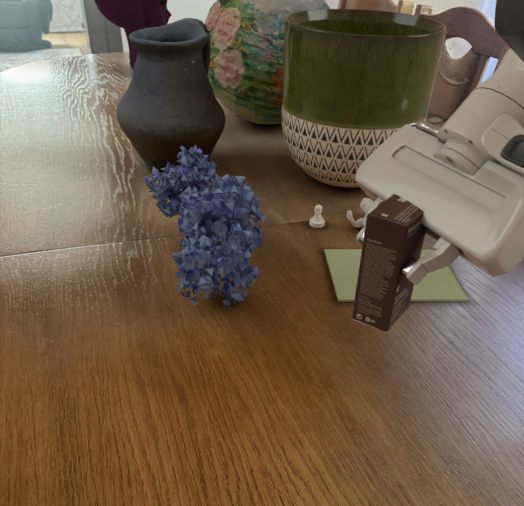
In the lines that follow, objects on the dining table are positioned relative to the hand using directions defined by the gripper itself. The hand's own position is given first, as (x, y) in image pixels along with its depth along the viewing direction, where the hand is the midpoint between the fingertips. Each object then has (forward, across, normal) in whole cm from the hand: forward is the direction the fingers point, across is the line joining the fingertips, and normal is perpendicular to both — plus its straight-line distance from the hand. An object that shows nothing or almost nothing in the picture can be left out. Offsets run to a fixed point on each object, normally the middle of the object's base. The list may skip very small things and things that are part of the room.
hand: (384, 261), depth 55 cm
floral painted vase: (-13, -86, +35) cm, 94 cm away
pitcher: (+8, -69, +14) cm, 70 cm away
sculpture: (-3, -144, +26) cm, 146 cm away
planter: (-11, -49, +33) cm, 60 cm away
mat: (-1, -16, +22) cm, 28 cm away
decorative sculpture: (+15, -30, +6) cm, 34 cm away
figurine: (-5, -29, +26) cm, 40 cm away
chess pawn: (0, -34, +22) cm, 41 cm away
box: (+4, 0, +6) cm, 7 cm away
